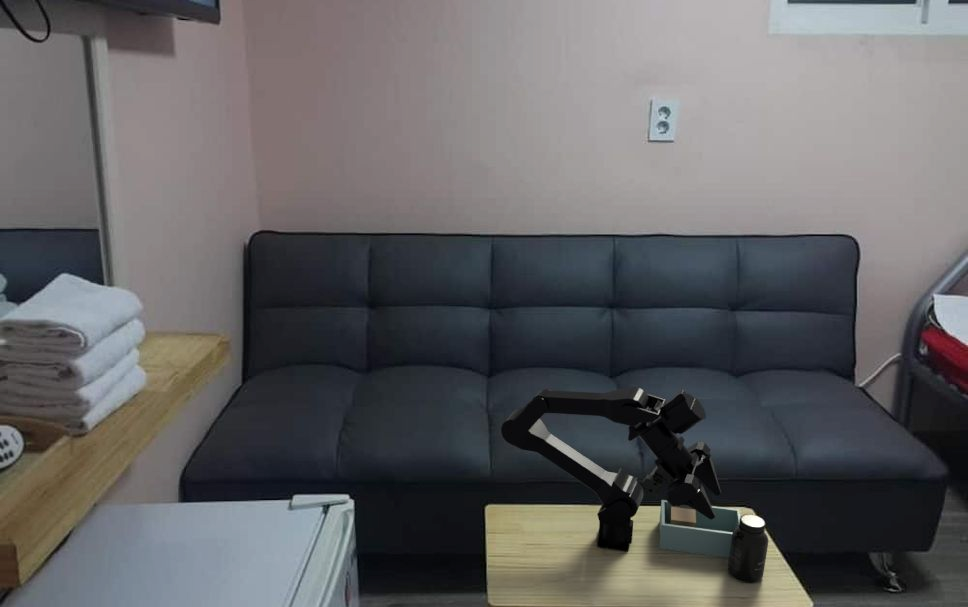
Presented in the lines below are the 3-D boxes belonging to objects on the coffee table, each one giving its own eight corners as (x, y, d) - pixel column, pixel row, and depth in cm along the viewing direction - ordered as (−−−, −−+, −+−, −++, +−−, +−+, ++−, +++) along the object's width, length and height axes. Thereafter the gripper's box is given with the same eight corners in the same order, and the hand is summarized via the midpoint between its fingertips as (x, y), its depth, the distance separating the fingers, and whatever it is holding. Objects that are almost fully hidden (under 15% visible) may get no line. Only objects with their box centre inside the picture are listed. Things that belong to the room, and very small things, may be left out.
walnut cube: (668, 540, 170) (671, 519, 168) (668, 526, 175) (671, 506, 173) (693, 543, 169) (696, 522, 167) (692, 530, 174) (695, 509, 172)
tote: (659, 548, 168) (661, 524, 166) (659, 522, 177) (661, 499, 176) (740, 559, 165) (744, 535, 164) (736, 532, 174) (739, 509, 173)
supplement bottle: (765, 586, 157) (773, 533, 153) (728, 581, 158) (735, 528, 155) (760, 565, 164) (768, 513, 160) (725, 560, 165) (732, 508, 161)
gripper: (643, 444, 172) (691, 501, 171) (622, 486, 155) (675, 550, 155) (684, 417, 167) (734, 476, 166) (668, 458, 150) (723, 524, 150)
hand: (716, 506), depth 159 cm, fingers open, 9 cm apart
